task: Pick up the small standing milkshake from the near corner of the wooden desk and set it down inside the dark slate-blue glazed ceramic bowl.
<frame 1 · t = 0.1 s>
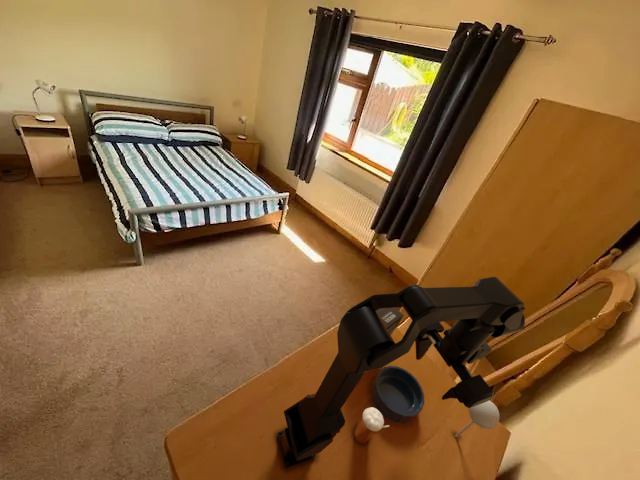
hand: (430, 377, 67), 15 cm above the table, tool pointing down, fingers open, 9 cm apart
bowl: (393, 398, 77), on the table
coffee box: (364, 351, 86), on the table
milkshake: (362, 436, 68), on the table
lollipop: (455, 436, 73), on the table
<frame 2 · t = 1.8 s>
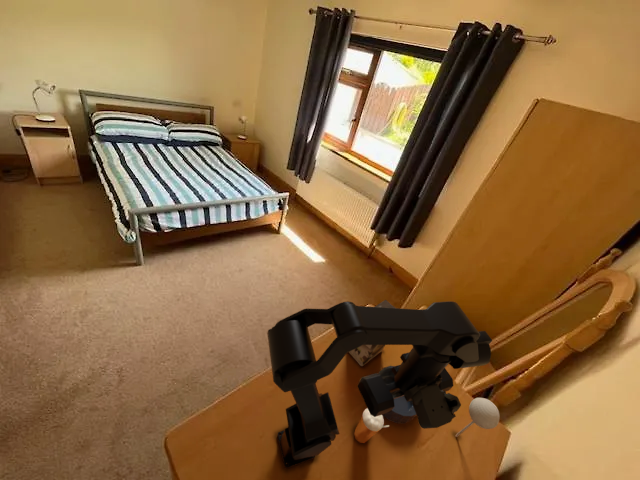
hand: (390, 405, 62), 13 cm above the table, tool pointing down, fingers open, 9 cm apart
nothing on the table moved.
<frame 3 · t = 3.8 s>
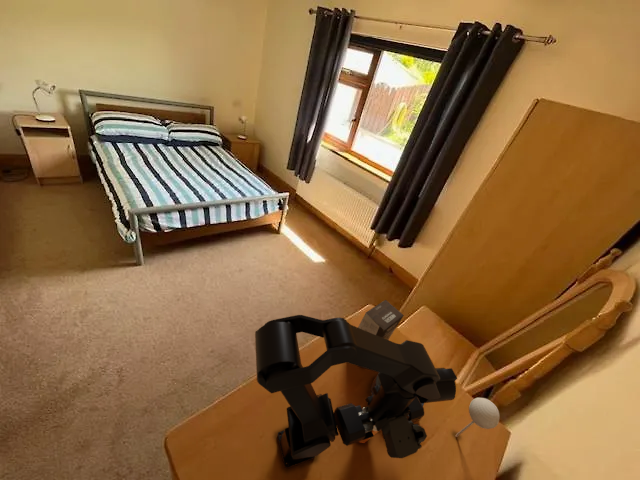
hand: (366, 430, 66), 3 cm above the table, tool pointing down, fingers closed on milkshake, 4 cm apart
milkshake: (362, 436, 68), on the table, touching gripper
everything else where it was.
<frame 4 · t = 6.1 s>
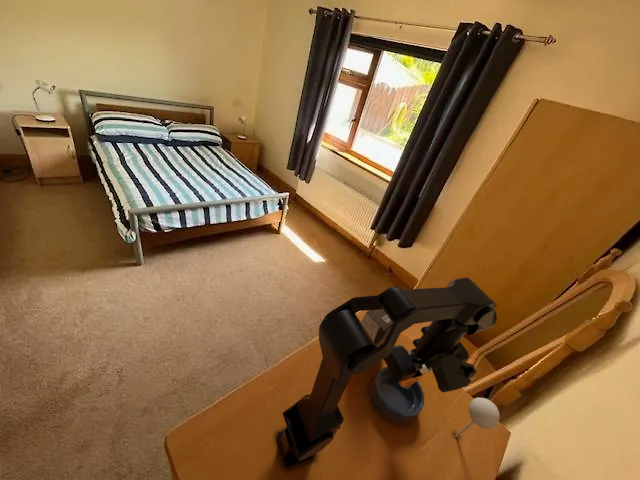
hand: (410, 376, 68), 13 cm above the table, tool pointing down, fingers closed on milkshake, 4 cm apart
milkshake: (405, 383, 70), point 10 cm above the table, touching gripper
everything else where it was.
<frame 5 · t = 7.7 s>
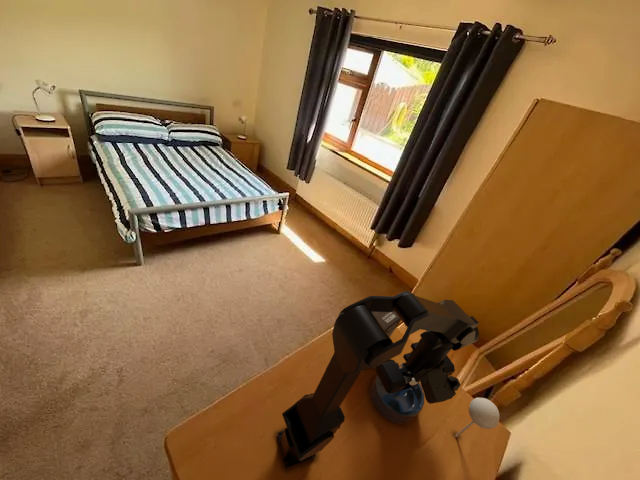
hand: (401, 387, 74), 6 cm above the table, tool pointing down, fingers closed on milkshake, 4 cm apart
milkshake: (396, 394, 75), point 2 cm above the table, touching gripper
everything else where it was.
when the fingers open (4 cm above the table, at t = 8.7 s): milkshake stays where it is, resting on bowl.
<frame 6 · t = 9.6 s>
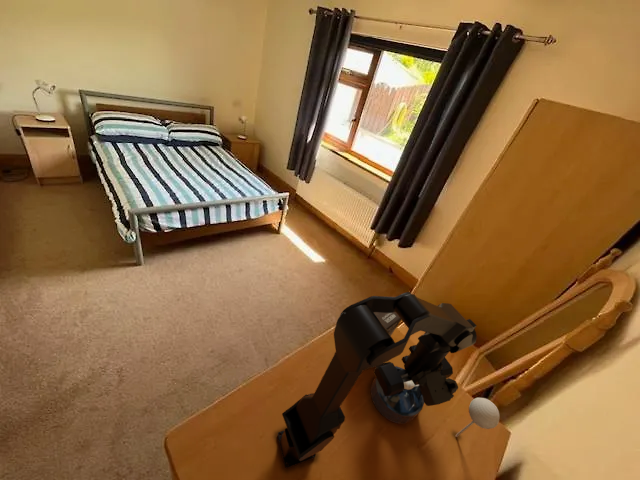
hand: (400, 389, 74), 4 cm above the table, tool pointing down, fingers open, 9 cm apart
milkshake: (394, 397, 77), resting on bowl
everything else where it was.
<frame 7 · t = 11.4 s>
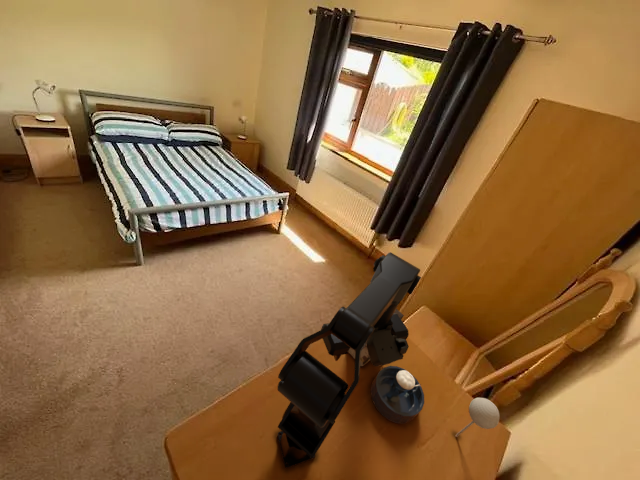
hand: (353, 355, 69), 13 cm above the table, tool pointing down, fingers open, 9 cm apart
nothing on the table moved.
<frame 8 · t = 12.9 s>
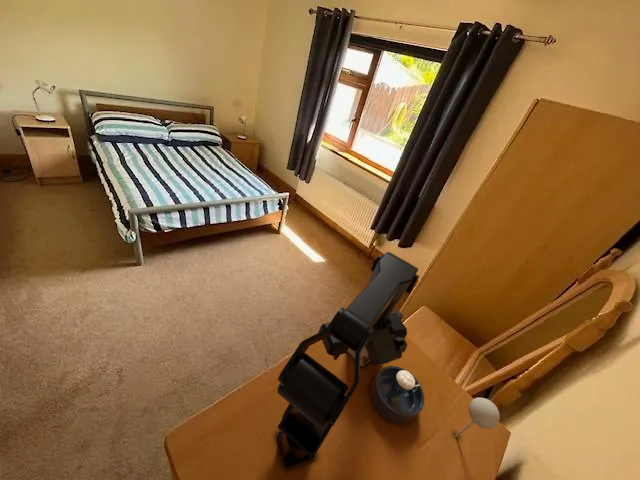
hand: (352, 354, 69), 13 cm above the table, tool pointing down, fingers open, 9 cm apart
nothing on the table moved.
at the end: milkshake 0.1 cm off-centre in the bowl, point 0.4 cm above the bowl's base; milkshake tilted 0°; the gripper is holding nothing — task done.
